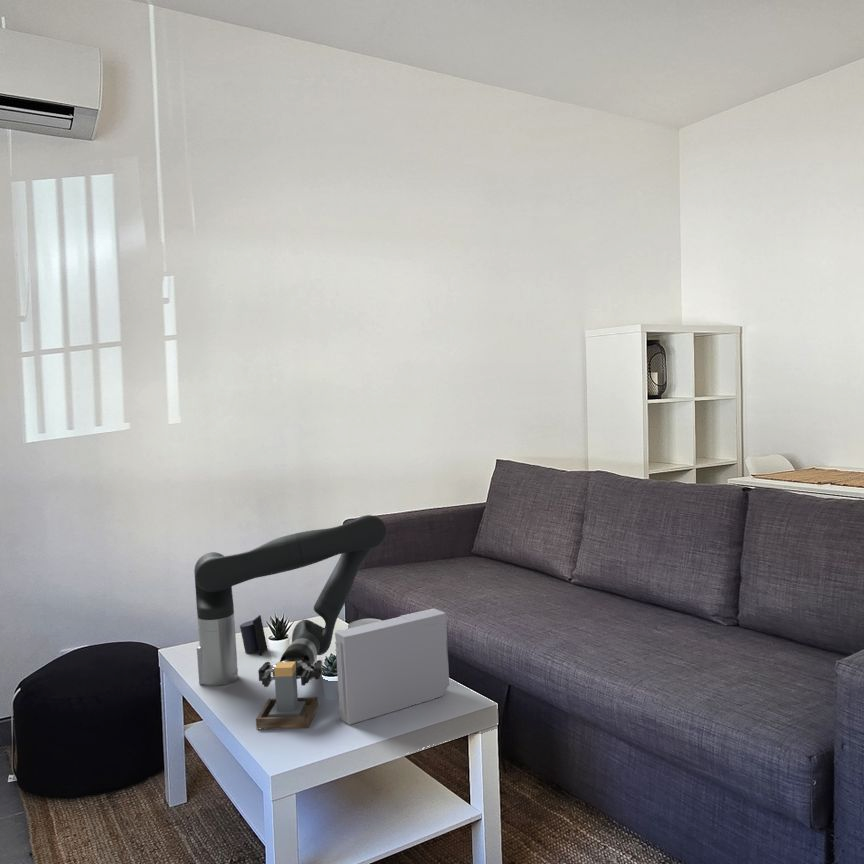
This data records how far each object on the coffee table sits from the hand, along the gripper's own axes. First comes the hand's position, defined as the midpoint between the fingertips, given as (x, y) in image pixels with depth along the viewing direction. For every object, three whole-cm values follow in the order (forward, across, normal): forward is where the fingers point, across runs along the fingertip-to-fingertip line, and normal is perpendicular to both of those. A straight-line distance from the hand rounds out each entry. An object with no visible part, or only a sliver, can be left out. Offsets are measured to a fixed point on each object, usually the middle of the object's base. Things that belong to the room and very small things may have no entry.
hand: (284, 682), depth 178 cm
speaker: (-50, -21, +9) cm, 55 cm away
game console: (-7, +24, +9) cm, 27 cm away
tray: (-2, 0, +9) cm, 9 cm away
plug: (-2, 0, +8) cm, 8 cm away
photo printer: (-36, +14, +9) cm, 40 cm away
